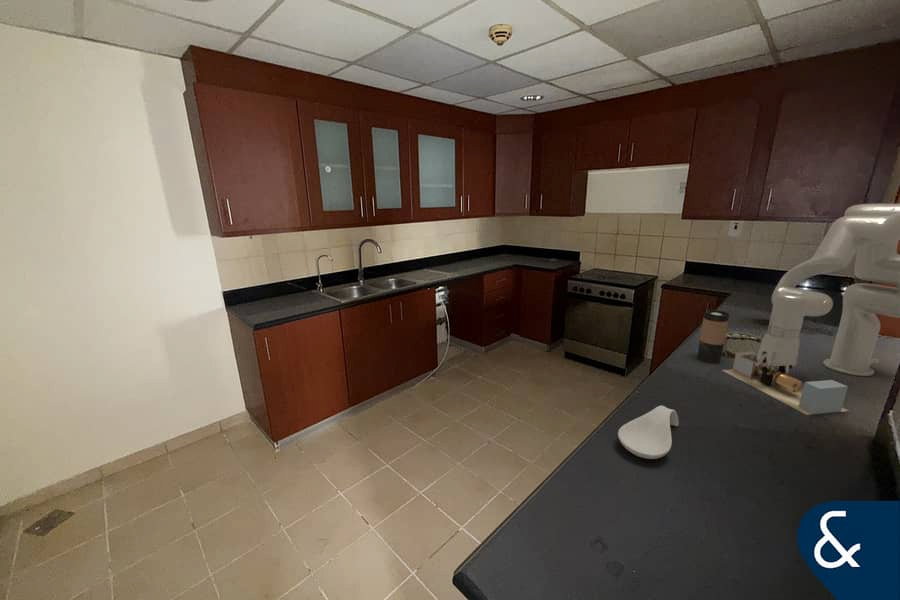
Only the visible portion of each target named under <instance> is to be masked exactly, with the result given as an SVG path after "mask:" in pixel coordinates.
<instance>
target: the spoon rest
mask: <svg viewBox="0 0 900 600" xmlns="http://www.w3.org/2000/svg"><path fill="white" fill-rule="evenodd" d="M679 423H680V422H679V416H678V414H677V411H676V410H675V409H671V408H668V407H666V406H665V405H659V406H656V407H655V408H653V409H652V410H650V411H648V412H646V413H645V414H643V415H641V416H638V417H637V418H634V419H632V420H631V421H628V422H626V423H625V424H622V426H621V427H620V428H619V429H618V431H617V437H618V440H619V442H620V444H621V445H622V446H623V447H624V448H625V449H626V450H627V451H628V452H630V453H631V454H633V455H634V456H636V457H639V458H641V459H642V458H643V459H645V460H655V459H656V460H657V459H660V458H663V457H664V456H666V455H667V454H668V453H669V451H670V450H671V448H672V442H673V441H672V440H673V439H672V431H671V430H672V429H671V426H673V427H678V426H679V425H680V424H679Z"/></svg>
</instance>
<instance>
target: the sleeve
mask: <svg viewBox="0 0 900 600" xmlns="http://www.w3.org/2000/svg"><path fill="white" fill-rule="evenodd" d="M757 354H758V353H755V352H741V353H736V355H735V358H734V360H733V365H732V366H733V367H732V369H733V371H734V372H736V373H738V374H740V375H742V376H744V377H746V378H748V379H750V380H754V379H761V376H759V375H757V374H755V373H754V371H755V367H756V365H755V364H756V363H755V362H753V361H751V360H749V359H746V358H744V357H749V358H750V359H752V360H755V361H757ZM768 367H769V366H768Z"/></svg>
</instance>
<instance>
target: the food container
mask: <svg viewBox="0 0 900 600" xmlns="http://www.w3.org/2000/svg"><path fill="white" fill-rule="evenodd" d="M762 339H763V337H761V336H759V335H756V334H753V333H749V332H744V331H729V332H726V336H725V342H724V346H725V347H724V357H725V358H732V359H735V355H736V353H741V352H755V353H757V354H758V351H759V347H760V344H761V342H762ZM744 358H745V357H744ZM748 358H749V357H748Z"/></svg>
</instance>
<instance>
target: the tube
mask: <svg viewBox="0 0 900 600" xmlns="http://www.w3.org/2000/svg"><path fill="white" fill-rule="evenodd" d="M745 358H746V359H749V360H751V361H753V362H755V363H757V361H755V360H752V359H750V358H748V357H745ZM767 368H768V369H769V367H768V366H767ZM777 370H778V369H775V368H774V370H773V372H772V374H771V375H773V378H772V382H774V383H775V384H777V385H779V386H782V387H784V388H786V389H788V390H790V391H792V392H795V393H796V392H799V391H800V390H801V389H803V387H804V382H803V381H801V380H799V379H798V378H795V377H794V376H791V375H789V374H785V373H782V372H779V371H777ZM754 373H755V374H757V375H759V376H761V375H762V371H761V369H760V368H759V367H757V366H756V367H755V371H754Z"/></svg>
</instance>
